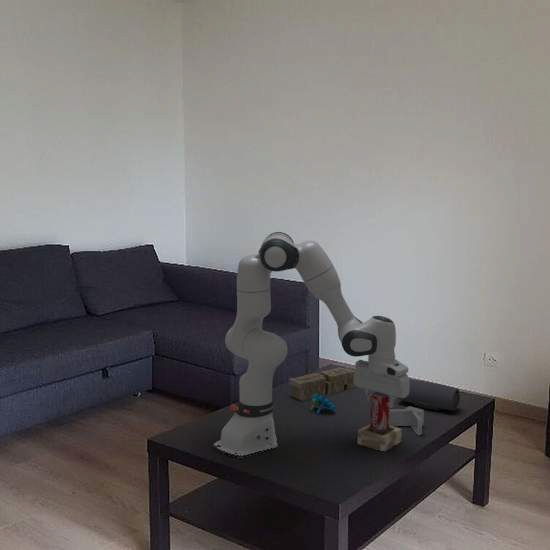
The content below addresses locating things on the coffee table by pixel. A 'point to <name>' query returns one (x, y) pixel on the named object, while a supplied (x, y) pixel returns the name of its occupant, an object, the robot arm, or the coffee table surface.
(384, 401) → the beverage can
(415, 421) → the v-block
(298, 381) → the block tower
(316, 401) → the blue toy figure
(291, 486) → the coffee table surface
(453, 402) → the bluetooth speaker
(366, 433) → the bore block
